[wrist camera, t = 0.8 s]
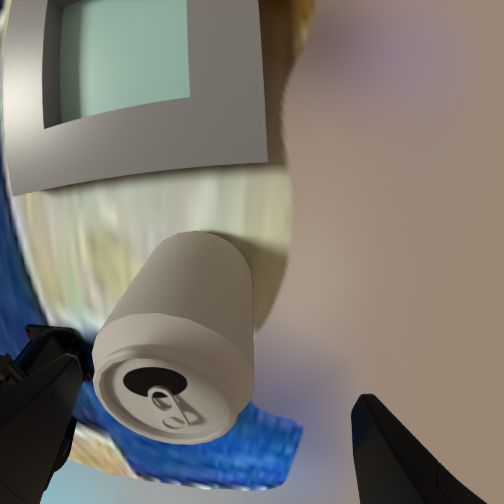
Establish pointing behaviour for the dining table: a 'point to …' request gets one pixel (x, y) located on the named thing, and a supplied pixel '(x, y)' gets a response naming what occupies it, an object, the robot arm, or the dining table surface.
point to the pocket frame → (130, 88)
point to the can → (180, 343)
